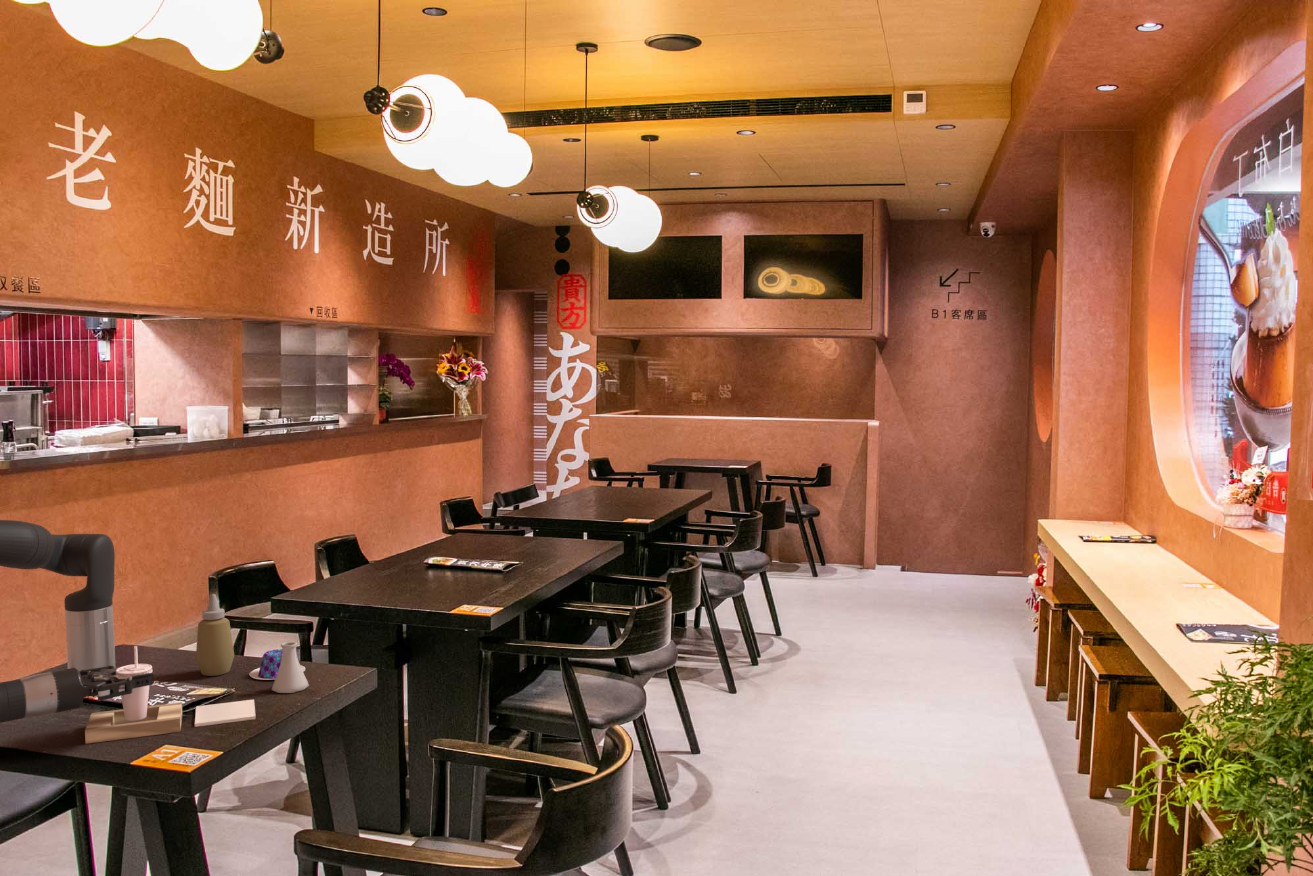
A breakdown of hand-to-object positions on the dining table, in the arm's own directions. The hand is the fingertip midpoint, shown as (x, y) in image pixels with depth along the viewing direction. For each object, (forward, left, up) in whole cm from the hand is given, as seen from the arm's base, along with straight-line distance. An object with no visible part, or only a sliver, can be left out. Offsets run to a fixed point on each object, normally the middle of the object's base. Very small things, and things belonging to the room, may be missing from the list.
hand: (147, 674), depth 201 cm
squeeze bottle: (-32, +12, -10) cm, 36 cm away
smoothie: (+1, -2, -8) cm, 9 cm away
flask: (-13, +27, -10) cm, 31 cm away
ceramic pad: (-1, +14, -10) cm, 17 cm away
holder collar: (+1, -2, -10) cm, 10 cm away
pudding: (-26, +25, -11) cm, 37 cm away
